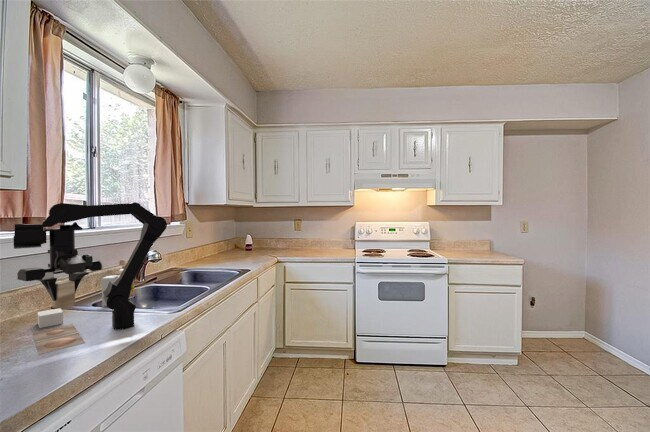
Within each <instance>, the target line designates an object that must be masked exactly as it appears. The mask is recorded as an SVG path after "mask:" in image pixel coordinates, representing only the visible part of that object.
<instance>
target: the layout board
mask: <svg viewBox="0 0 650 432" xmlns="http://www.w3.org/2000/svg"><path fill="white" fill-rule="evenodd" d="M31 333H32V336H33V340H34V343H35V346H36V350H37V354H38V355H42V354H48V353H50V352H54V351H55V352H56V351H58V350H64V349H66V348H70V347H75V346H79V345H83V344H86V341H85V340H84V338H83V337H82V336H81V334H80V333H79V331H78V330H77V328H76V327H75V325H74V324H73V323H71V324H70V323H69V324H64V325H61V326H55V327H50V328H46V329H41V330H37V331H36V330H35V331H32V332H31Z"/></svg>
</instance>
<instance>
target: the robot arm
mask: <svg viewBox="0 0 650 432" xmlns="http://www.w3.org/2000/svg"><path fill="white" fill-rule="evenodd" d="M123 215H124V216H125V215H131V216H132V217H134V218H135V219H136V220H137V221H138V222H140V223H141V224H143V225H142V227H141V232H140V237H139V240H138V241H137V244H136V245H135V247H134V249H133V251H132V253H131V255H130V256H129V258H128V260H127V261H126V264H125V266H124V267H123V268H122V269H123V271H122V273H121V275H120V274H119V275H120V277H119V278H118V279H117V280H116V281H115V282H114V283H112V282H109V283H108V286H107V289H106V290H105V291H104V292H103V294H104V297H103V299H104V302H105V304H106V305H107V306H106V307H107V308H108V309H110V310H112V312H111V316H112V317H111V319H112V320H111V323H112V324H111V325H112V329H113V330H117V331H118V330H121V331H122V330H127V329H130V328H133V327H135V310H136V308H137V306H136V304H134V303H133V301H132V300H131V299H129V296H130V292H131V287H132V282H133V280H134V281H135V278H137V277H136V276H137V274H138V272H139V271H140V269H141V267H142V265H143V264H144V261H145V260H146V257H147V255H148V253H149V252H150V251H151V250H150V249H151V248H152V246H153V244H154V243H155V242H156V241H157V240H158V239H159V238H160V237H161V236H162V235H163V234H164V232H165V231H166V229H167V226H168V223H167V221H166V219H165V218H164V217H162V216H157V215H156V214H155V213H152V212H151V211H150V210H148V209H146V208H145V207H143V206H142V205H141V203H139V202H128V203H127V202H126V203H114V204H113V203H111V204H109V203H108V204H95V205H93V204H92V205H85V204H76V203H75V204H74V203H65V202H64V203H63V202H61V203H55V204H54V205H52V206H51V207H50V208H49V210H48V216H47V217H46V218H44V220H42V222H41V223H34V224H33V223H29V224H27V223H26V224H25V223H16V224H14V234H13V249H17V250H18V249H19V250H20V249H31V248H32V249H33V248H42V245H44V244H47V232H49V233H48V234H49V236H48V237H49V249H47V254H49V263H47V268H42V267H37V266H35V267H28V268H21V269H19V270H18V272H17V280H18V281H22V282H23V281H24V282H32V281H39V282H40V283H41V284H42V285H43V286H44V289H46V291H47V293H48V295H49V296H50V298H51V301H52V300H53V301H56V298H57V294H56V282H57V281H58V277H55V275H58V274H66V275H68V280H70V281H75V293H76V292H77V290H78V287H79V284H80V283H81V281H82V279H83V278H84V277H86V276H88V275H89V274H90V273H89V272H87V270H89V271H90V272H96V271H102V270H103V264H102V262H101V261H100V260H94V259H93V255H92V254H91V253H87V254H82V255H79V254H78V253H79V251H78V248H76V241H75V235H76V234H75V231H82V230H83V227H82V226H80V225H79V224H78V223H77V221H80V220H85V219H89V218H96V217H97V218H98V217H110V216H111V217H112V216H123ZM71 222H73V223H72V224H65V223H71ZM57 224H59V226H58V228H52V227H54V226H55V225H57Z"/></svg>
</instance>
